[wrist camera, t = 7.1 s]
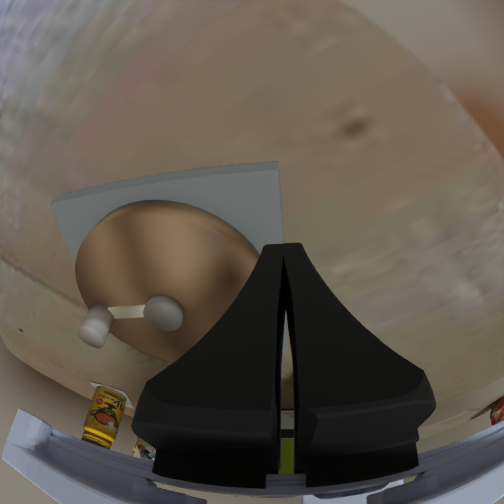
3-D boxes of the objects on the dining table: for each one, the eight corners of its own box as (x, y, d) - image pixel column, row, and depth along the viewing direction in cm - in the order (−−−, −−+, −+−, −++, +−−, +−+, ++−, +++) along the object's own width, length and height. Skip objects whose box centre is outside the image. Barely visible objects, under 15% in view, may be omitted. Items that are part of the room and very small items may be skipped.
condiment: (123, 390, 41) (105, 450, 31) (135, 408, 46) (121, 460, 36) (88, 379, 41) (68, 435, 31) (103, 399, 46) (87, 448, 36)
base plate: (287, 338, 28) (287, 352, 26) (129, 335, 30) (125, 347, 29) (277, 161, 18) (278, 169, 16) (60, 194, 20) (49, 204, 18)
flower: (481, 418, 50) (498, 428, 44) (481, 419, 46) (500, 430, 39) (498, 390, 51) (515, 400, 44) (499, 389, 46) (518, 399, 39)
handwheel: (244, 174, 16) (234, 215, 12) (286, 342, 25) (287, 389, 21) (57, 226, 19) (22, 263, 15) (139, 349, 28) (125, 387, 24)
